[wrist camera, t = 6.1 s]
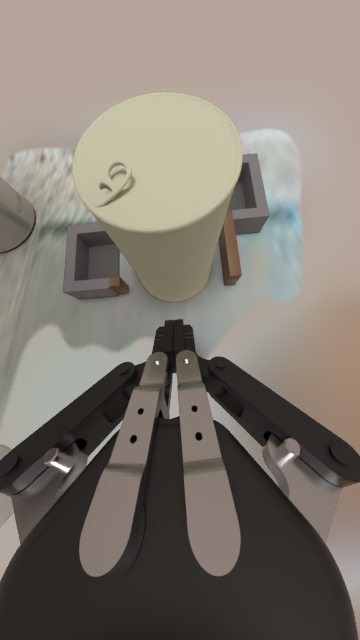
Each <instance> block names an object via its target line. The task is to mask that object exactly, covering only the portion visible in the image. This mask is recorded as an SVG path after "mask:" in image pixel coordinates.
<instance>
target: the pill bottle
mask: <svg viewBox="0 0 360 640" xmlns="http://www.w3.org/2000/svg"><path fill="white" fill-rule="evenodd" d="M10 451H11V449H10V448H8V447H6V446H4V445H0V460H1V459H2V458H3V457H4V456H5V455H6V454H8V453H9V452H10ZM13 512H14V509H13V504H12V499H11V497H10V496H6V495H5V494H2V493H0V527H1V526H2V525H3V524H4V523H5V522H6V521H7V519H8V518H9V517H10V516H11V514H12V513H13Z"/></svg>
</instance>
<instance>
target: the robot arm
mask: <svg viewBox="0 0 360 640" xmlns="http://www.w3.org/2000/svg"><path fill="white" fill-rule="evenodd" d="M34 221H35V214H34V210H33V208H32V206H31V205H30V204H29V203H28V202H27V201H26V200H25V199H24V198H23V197H22V196H21V195H20V194H19V193H18V192H16V191H15V190H14V189H13V188H12V187H11V186H10V185H9V184H8V183H6V182H5V181H4V180H3V179H2V178H1V177H0V252H4V251H8V250H10V249H13V248H15V247H16V246H18V245H19V244H21V243H22V242H23V241H24V240H25V239H26V238H27V236H28V235H29V234H30V232H31V230H32V228H33V225H34ZM176 371H177V380H178V399H179V413H180V416H178V417H176V418H173V419H169V406H170V398H171V389H172V373H176ZM206 392H209V394H210V396H211V397H212V398H213V399H214V400H215V401H216V402H218V403H219V404H220V405H221V406H222V407H223V408H224V409H225V410H226V411H227V412H228V413H229V414H230V415H231V416H232V417H233V418H234V419H235V420H236V421H237V422H238V423H239V424H240V425H241V426H242V427H243V428H244V429H245V430H246V431H247V432H248V433H249V434H250V435H251V436H252V437H253V438H254V439H255V440H256V441H257V442H258V443H259V444H260V445H261V446H262V447H263V451H262V453H263V458H264V461H265V463H266V465H267V467H268V468H269V470H270V471H271V472H272V473H273V475H274V476H275V478H276V480H277V482H278V485H279V487H278V486H277V485H276V484H275V483H274V482H273V480H272V479H271V478H270V477H269V476H268V475H267V473H266V472H265V471H264V470H263V469H262V468H261V467H260V465H259V464H258V463H257V462H256V461H255V460H254V459H253V458H252V456H251V455H250V454H249V453H248V452H247V451H246V450H245V449H244V447H243V446H242V445H241V444H240V443H239V442H238V440H237V439H236V438H235V437H234V436H233V435H232V434H231V433H230V431H229V430H228V429H226V428H225V427H224V426H223V425H222V424H220V423H219V422H217V421H215V420H213V418H212V414H211V410H210V406H209V402H208V397H207V393H206ZM122 420H123V422H122V425H121V428H120V430H118V431H117V432H116V433H115V434H114V435H113V436H112V437H111V439H110V440H109V441H108V442H107V443H106V444H105V446H104V447H103V448H102V449H101V450H100V451H99V453H98V454H97V455H96V456H95V457H94V458H93V459H92V461H91V462H90V463H89V464H88V465H87V466H86V464H87V458H88V456H89V455H90V454H91V453H92V452H93V451H94V450H95V449H96V447H98V446H99V445H100V443H101V442H102V441H103V440H104V439H105V438H106V437H107V436H108V435H109V434H110V433H111V431H113V429H114V428H115V427H116V426H117V425H118V424H119V423H120V422H121V421H122ZM358 482H360V456H359V455H358V454H357V452H356V451H355V450H354V449H353V448H352V447H351V446H350V445H349V444H348V443H346V442H345V441H344V440H342V439H341V438H340V437H338V436H337V435H335V434H334V433H332V432H331V431H329V430H328V429H327V428H325V427H324V426H322V425H321V424H319V423H318V422H316V421H315V420H314V419H312V418H311V417H309V416H308V415H307V414H305V413H304V412H302V411H301V410H299V409H298V408H296V407H295V406H294V405H292V404H291V403H289V402H288V401H286V400H285V399H284V398H282V397H281V396H279V395H278V394H276V393H275V392H274V391H272V390H271V389H269V388H268V387H266V386H265V385H263V384H262V383H261V382H259V381H258V380H256V379H255V378H253V377H252V376H251V375H249V374H248V373H246V372H245V371H243V370H242V369H241V368H239V367H238V366H236V365H235V364H233V363H232V362H231V361H229V360H228V359H226V358H224V357H214V358H212V359H211V360H206V359H203V358H201V357H199V356H198V355H197V354H196V351H195V344H194V336H193V328H192V327H191V326H190V325H183V319H178V320H166V321H165V326H164V327H159V328H158V329H157V331H156V335H155V340H154V346H153V351H152V354H151V355H150V356H149V357H148V359H147V361H146V362H144V363H142V364H138V365H136V366H134V364H133V363H131V362H124V363H122V364H120V365H118V366H117V367H116V368H114V369H113V370H112V371H111V372H109V373H108V374H107V375H106V376H104V377H103V378H102V379H101V380H99V381H98V382H97V383H96V384H94V385H93V386H92V387H90V388H89V389H88V390H87V391H85V392H84V393H83V394H82V395H81V396H79V397H78V398H77V399H75V400H74V401H73V402H72V403H70V404H69V405H68V406H67V407H65V408H64V409H63V410H62V411H60V412H59V413H58V414H56V415H55V416H54V417H53V418H51V419H50V420H49V421H48V422H46V423H45V424H44V425H43V426H42V427H40V428H39V429H38V430H36V431H35V432H34V433H33V434H31V435H30V436H29V437H28V438H26V439H25V440H24V441H23V442H21V443H20V444H19V445H18V446H16V447H15V448H14V449H12V450H11V451H10V452H9V453H8V454H6V455H5V456H4V457H3V458H2V459H1V460H0V493H2V494H5V495H6V496H10V497H11V499H12V504H13V509H14V514H15V519H16V524H17V529H18V534H19V539H20V544H21V545H20V547H19V548H18V549H17V551H16V553H15V554H14V556H13V558H12V559H11V561H10V563H9V565H8V567H7V569H6V570H5V573H4V575H3V577H2V579H1V581H0V640H358V634H357V628H356V622H355V616H354V611H353V608H352V604H351V600H350V597H349V594H348V591H347V588H346V585H345V582H344V580H343V577H342V575H341V573H340V570H339V568H338V566H337V564H336V562H335V560H334V558H333V556H332V554H331V552H330V551H329V549H328V547H327V546H326V544H325V543H326V540H327V536H328V533H329V530H330V526H331V523H332V519H333V516H334V512H335V509H336V506H337V502H338V499H339V495H340V492H341V489H342V488H343V487H346V486H349V485H352V484H355V483H358Z"/></svg>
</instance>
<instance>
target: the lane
mask: <svg viewBox="0 0 360 640" xmlns="http://www.w3.org/2000/svg"><path fill="white" fill-rule="evenodd" d="M219 244H220V252H221V260H222V268H223V276H224V284H225V285H234V284H235V283H236V282H237V281H238V279H239V278H240V277H241V275H242V273H241V267H240V260H239V253H238V246H237V240H236V233H235V226H234V219H233V213H232V210H230V211H227V213H226V216H225V220H224V223H223V226H222V230H221V233H220V236H219ZM109 287H110V288H112V289H113V290H114V291H116V292H117V293H118V294H127V293H128V285H127V284H126V283H125V282H124V281H123V280H122V279H121V278H120V277H113V278H109Z"/></svg>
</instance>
